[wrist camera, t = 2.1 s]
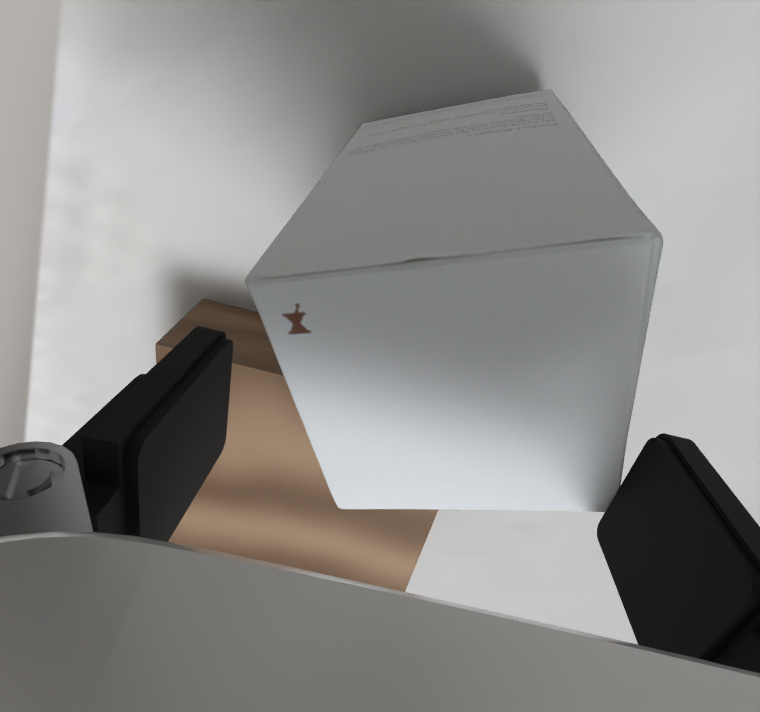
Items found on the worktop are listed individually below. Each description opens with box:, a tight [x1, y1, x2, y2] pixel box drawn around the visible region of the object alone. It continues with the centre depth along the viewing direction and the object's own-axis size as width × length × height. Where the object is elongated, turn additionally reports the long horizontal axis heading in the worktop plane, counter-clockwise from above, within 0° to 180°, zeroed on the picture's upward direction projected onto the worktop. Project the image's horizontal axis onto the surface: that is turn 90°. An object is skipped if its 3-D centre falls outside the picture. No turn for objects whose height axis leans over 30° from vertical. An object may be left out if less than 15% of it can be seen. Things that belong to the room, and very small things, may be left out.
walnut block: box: [156, 299, 438, 592], centre depth 27 cm, size 14×14×5 cm
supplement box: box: [245, 90, 663, 512], centre depth 15 cm, size 7×7×13 cm
